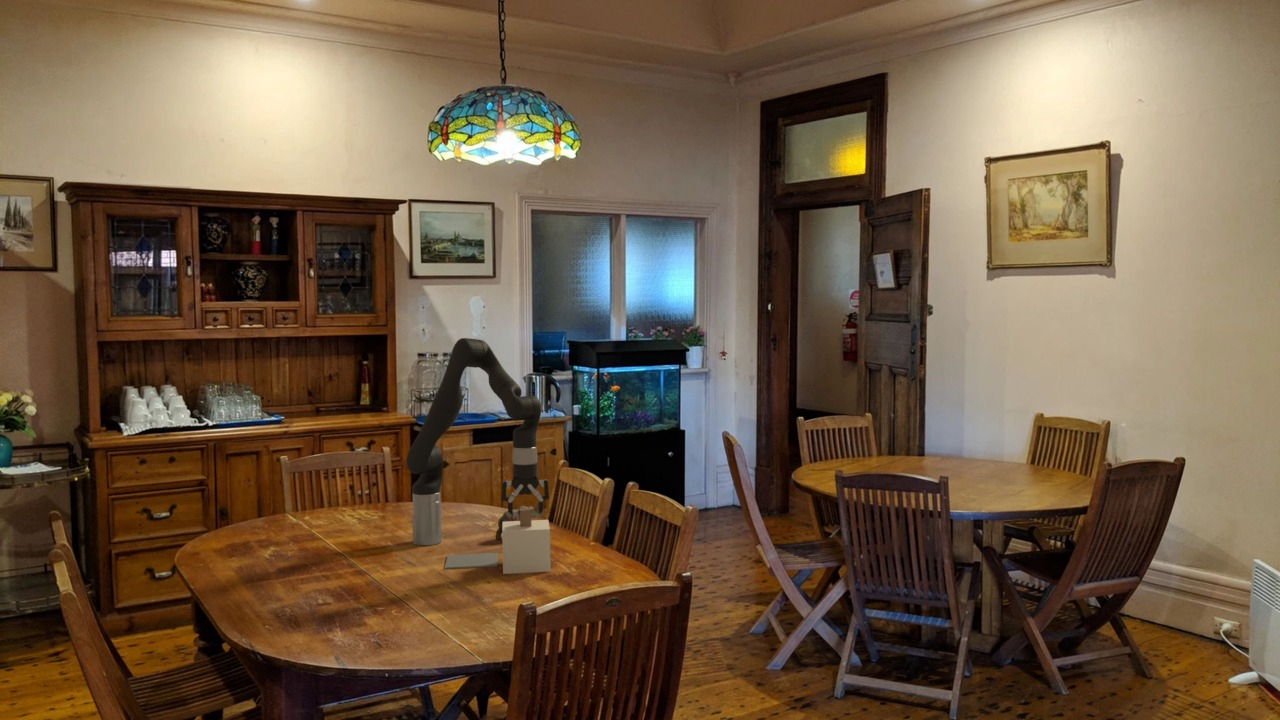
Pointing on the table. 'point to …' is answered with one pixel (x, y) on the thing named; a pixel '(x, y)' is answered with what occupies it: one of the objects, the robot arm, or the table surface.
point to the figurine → (515, 518)
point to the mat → (472, 560)
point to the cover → (526, 545)
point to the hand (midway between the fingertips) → (525, 513)
